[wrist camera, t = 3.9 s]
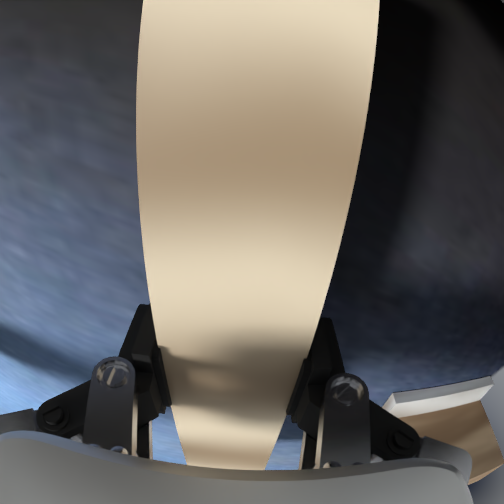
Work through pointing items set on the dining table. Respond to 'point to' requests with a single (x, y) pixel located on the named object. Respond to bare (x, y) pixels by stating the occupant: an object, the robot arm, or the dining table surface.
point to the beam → (245, 200)
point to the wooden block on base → (452, 420)
